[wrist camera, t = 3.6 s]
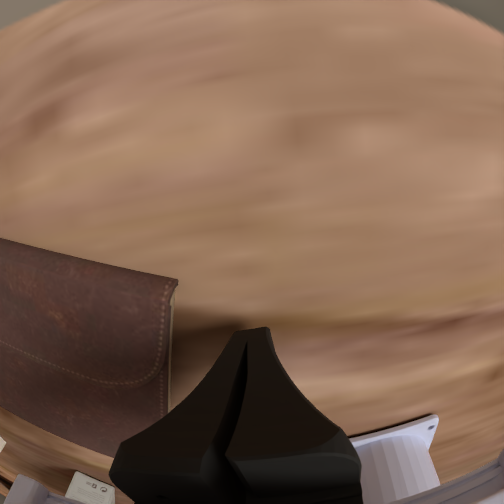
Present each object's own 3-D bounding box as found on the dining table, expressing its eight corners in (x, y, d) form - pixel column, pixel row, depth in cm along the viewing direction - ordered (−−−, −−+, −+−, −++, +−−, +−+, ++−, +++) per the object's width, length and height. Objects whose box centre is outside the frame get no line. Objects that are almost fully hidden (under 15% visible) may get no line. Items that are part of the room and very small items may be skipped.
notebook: (173, 458, 18) (168, 480, 16) (-27, 374, 17) (-37, 387, 16) (181, 272, 13) (168, 296, 11) (-71, 212, 12) (-90, 221, 10)
